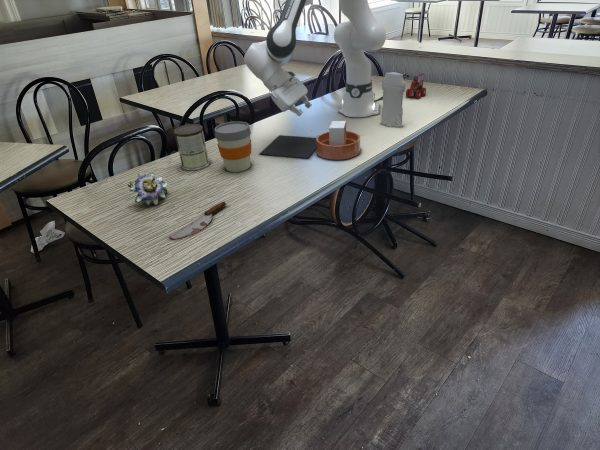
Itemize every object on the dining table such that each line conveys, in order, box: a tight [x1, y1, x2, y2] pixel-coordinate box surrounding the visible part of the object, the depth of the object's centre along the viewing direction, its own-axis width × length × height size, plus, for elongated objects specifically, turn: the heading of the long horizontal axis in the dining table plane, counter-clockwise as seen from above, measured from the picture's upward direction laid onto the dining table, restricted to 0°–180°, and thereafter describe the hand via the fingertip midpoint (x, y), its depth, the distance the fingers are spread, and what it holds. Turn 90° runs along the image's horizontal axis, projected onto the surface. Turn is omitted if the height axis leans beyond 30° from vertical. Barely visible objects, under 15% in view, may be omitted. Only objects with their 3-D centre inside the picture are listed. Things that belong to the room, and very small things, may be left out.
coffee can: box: [173, 123, 210, 171], centre depth 154 cm, size 10×10×14 cm
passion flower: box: [127, 171, 168, 206], centre depth 134 cm, size 11×11×12 cm
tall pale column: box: [380, 71, 407, 128], centre depth 174 cm, size 11×4×22 cm, turn 51°
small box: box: [328, 120, 347, 146], centre depth 156 cm, size 8×6×10 cm
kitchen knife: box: [169, 201, 227, 240], centre depth 121 cm, size 21×2×5 cm
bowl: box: [315, 130, 361, 161], centre depth 158 cm, size 16×16×6 cm
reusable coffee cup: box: [214, 121, 252, 173], centre depth 149 cm, size 13×13×15 cm
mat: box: [259, 134, 317, 160], centre depth 166 cm, size 20×20×1 cm
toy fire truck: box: [405, 73, 427, 99], centre depth 211 cm, size 7×12×10 cm, turn 139°
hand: (305, 110), depth 155 cm, fingers open, 8 cm apart
